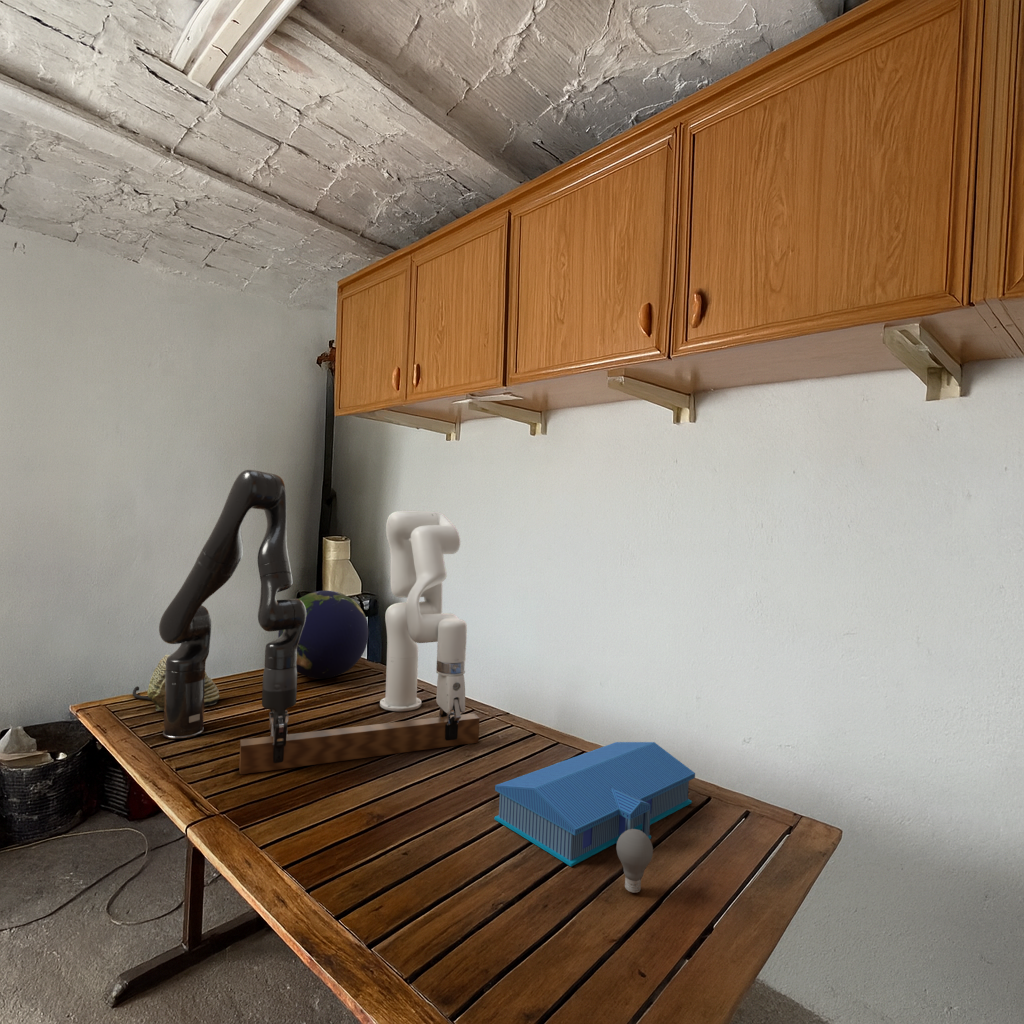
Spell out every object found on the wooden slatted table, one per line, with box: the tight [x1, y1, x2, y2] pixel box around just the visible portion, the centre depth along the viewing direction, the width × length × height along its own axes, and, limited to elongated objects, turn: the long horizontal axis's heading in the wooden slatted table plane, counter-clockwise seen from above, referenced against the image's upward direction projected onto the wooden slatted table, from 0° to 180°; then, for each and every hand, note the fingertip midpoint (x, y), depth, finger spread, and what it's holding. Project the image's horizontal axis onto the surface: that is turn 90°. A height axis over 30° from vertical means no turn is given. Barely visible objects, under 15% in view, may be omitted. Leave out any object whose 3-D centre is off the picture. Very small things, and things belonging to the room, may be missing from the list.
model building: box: [493, 741, 696, 868], centre depth 132 cm, size 39×24×10 cm, turn 132°
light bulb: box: [615, 829, 654, 894], centre depth 106 cm, size 6×6×10 cm
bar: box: [238, 713, 480, 775], centre depth 157 cm, size 58×4×6 cm, turn 116°
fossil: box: [147, 654, 221, 712], centre depth 185 cm, size 9×18×15 cm, turn 132°
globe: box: [277, 590, 369, 680], centre depth 219 cm, size 30×30×30 cm
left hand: (277, 757), depth 148 cm, fingers closed on bar, 4 cm apart
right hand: (448, 735), depth 166 cm, fingers closed on bar, 4 cm apart
